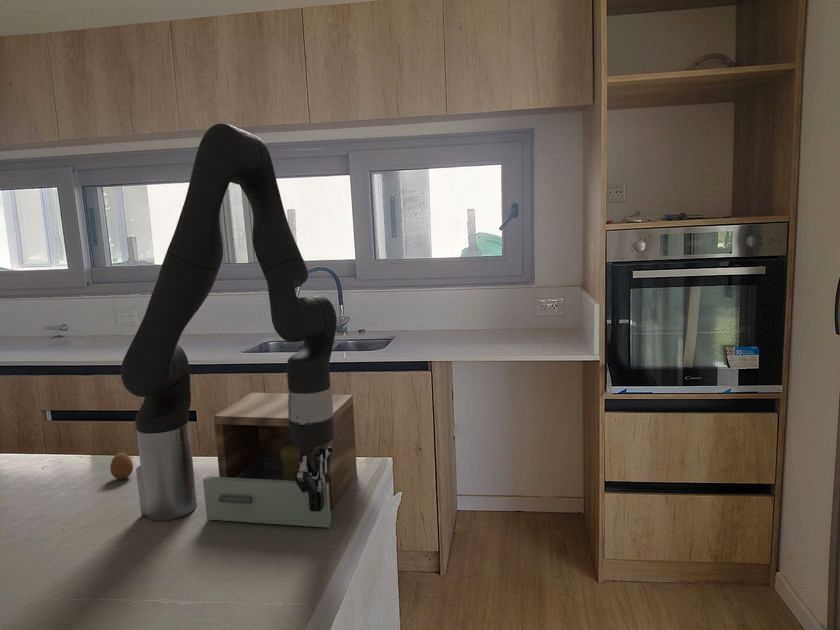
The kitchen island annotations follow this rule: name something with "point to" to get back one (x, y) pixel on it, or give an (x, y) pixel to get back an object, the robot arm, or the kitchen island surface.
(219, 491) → the drawer
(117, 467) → the egg
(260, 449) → the cabinet
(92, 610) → the kitchen island surface
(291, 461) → the olive tall rounded piece
